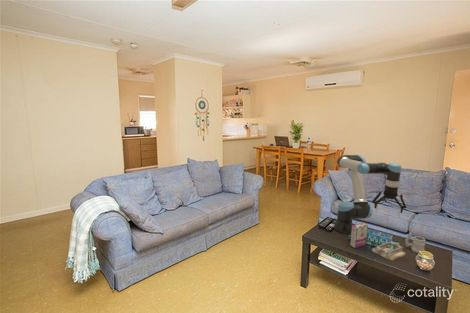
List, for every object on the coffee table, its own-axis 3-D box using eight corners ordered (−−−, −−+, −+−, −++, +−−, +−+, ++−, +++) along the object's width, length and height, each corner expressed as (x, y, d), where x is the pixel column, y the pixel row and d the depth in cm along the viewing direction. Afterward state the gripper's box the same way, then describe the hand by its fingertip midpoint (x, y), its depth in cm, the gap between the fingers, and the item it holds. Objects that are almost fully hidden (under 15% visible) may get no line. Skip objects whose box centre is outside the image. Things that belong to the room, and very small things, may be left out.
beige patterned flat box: (371, 250, 174) (372, 244, 174) (385, 245, 182) (386, 239, 181) (391, 261, 162) (392, 255, 161) (405, 254, 170) (406, 249, 169)
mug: (423, 255, 170) (426, 239, 168) (403, 248, 178) (405, 233, 176) (424, 251, 175) (427, 235, 173) (405, 245, 183) (407, 230, 181)
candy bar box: (360, 242, 186) (362, 222, 183) (365, 245, 181) (368, 224, 178) (349, 245, 181) (351, 224, 178) (355, 248, 177) (357, 227, 174)
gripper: (371, 184, 170) (367, 213, 174) (414, 190, 159) (409, 220, 163) (370, 181, 176) (366, 209, 181) (412, 187, 166) (407, 216, 170)
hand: (387, 214), depth 172 cm, fingers open, 13 cm apart
